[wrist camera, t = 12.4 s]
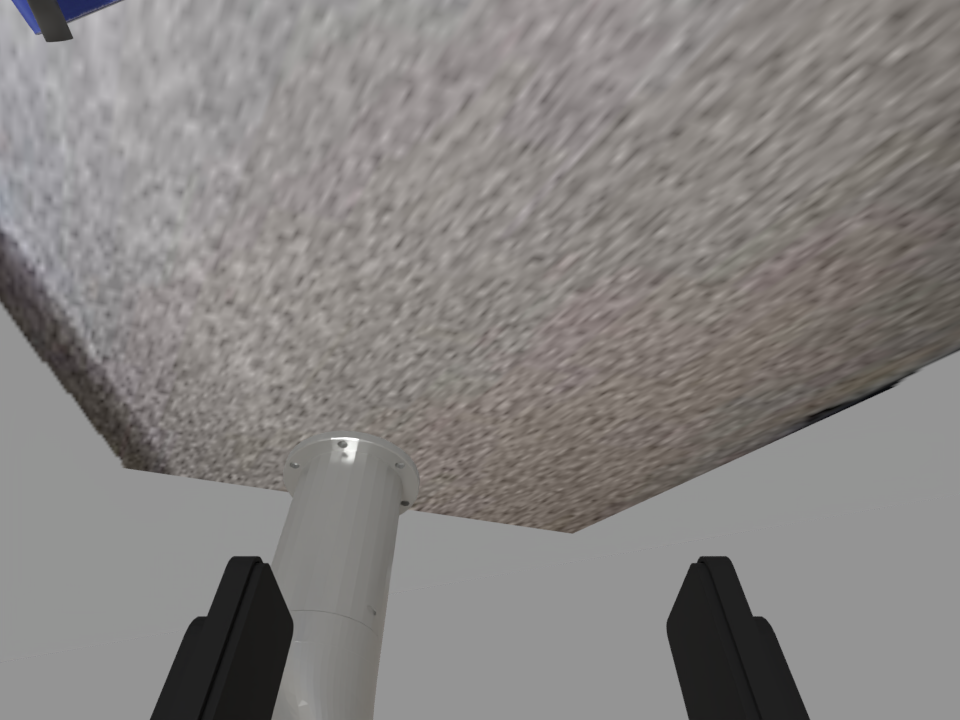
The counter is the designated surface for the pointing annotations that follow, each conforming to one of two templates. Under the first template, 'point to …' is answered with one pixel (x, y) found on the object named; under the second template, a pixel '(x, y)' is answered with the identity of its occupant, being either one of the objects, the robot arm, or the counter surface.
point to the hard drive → (65, 10)
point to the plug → (50, 20)
